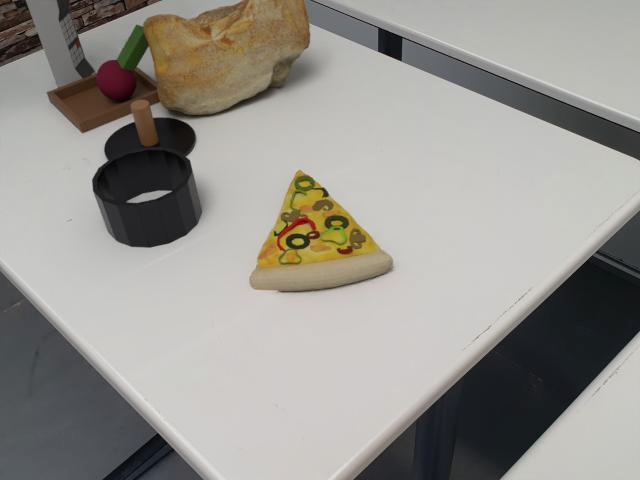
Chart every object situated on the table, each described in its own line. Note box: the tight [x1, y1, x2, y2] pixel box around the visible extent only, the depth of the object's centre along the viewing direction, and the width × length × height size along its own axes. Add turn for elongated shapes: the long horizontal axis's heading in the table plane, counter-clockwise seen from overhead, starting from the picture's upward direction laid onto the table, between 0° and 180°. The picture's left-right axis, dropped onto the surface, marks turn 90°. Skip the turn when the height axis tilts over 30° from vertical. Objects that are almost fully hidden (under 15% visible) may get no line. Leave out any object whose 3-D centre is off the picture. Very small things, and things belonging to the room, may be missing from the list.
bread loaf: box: [142, 0, 311, 116], centre depth 99 cm, size 23×17×15 cm
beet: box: [96, 24, 149, 101], centre depth 98 cm, size 6×6×12 cm
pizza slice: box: [249, 169, 394, 292], centre depth 79 cm, size 16×21×3 cm
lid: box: [103, 100, 197, 161], centre depth 91 cm, size 12×12×7 cm
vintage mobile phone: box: [25, 0, 97, 88], centre depth 98 cm, size 4×5×25 cm
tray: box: [46, 66, 161, 134], centre depth 101 cm, size 14×12×2 cm
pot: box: [91, 147, 203, 249], centre depth 81 cm, size 11×11×6 cm
